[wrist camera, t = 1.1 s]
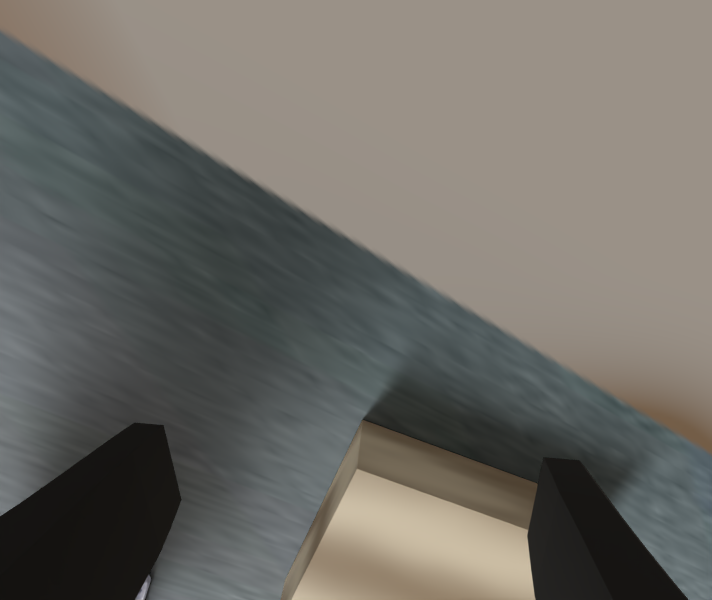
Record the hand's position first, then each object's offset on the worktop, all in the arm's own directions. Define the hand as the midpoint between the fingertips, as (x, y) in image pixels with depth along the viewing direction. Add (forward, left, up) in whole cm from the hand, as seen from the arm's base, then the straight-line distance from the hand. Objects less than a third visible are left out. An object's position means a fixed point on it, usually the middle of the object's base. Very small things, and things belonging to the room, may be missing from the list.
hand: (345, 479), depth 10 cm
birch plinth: (-12, -7, -10) cm, 17 cm away
